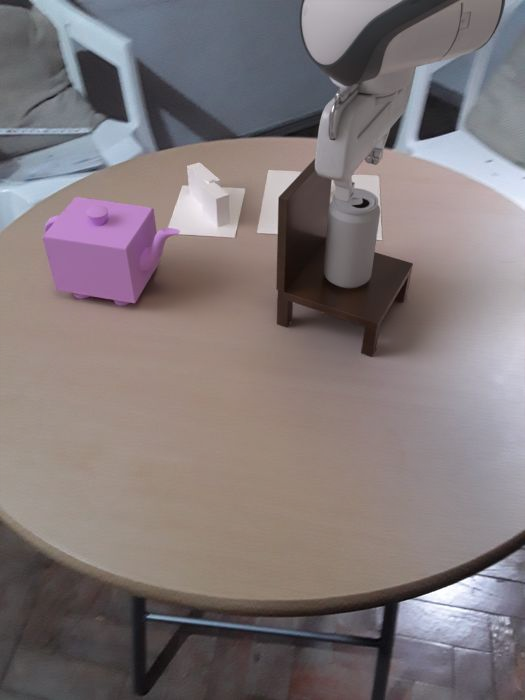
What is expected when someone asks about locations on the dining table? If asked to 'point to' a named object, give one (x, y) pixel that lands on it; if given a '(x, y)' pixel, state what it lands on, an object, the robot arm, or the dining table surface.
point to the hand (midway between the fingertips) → (359, 178)
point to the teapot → (104, 249)
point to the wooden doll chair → (308, 264)
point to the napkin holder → (206, 205)
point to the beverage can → (351, 239)
